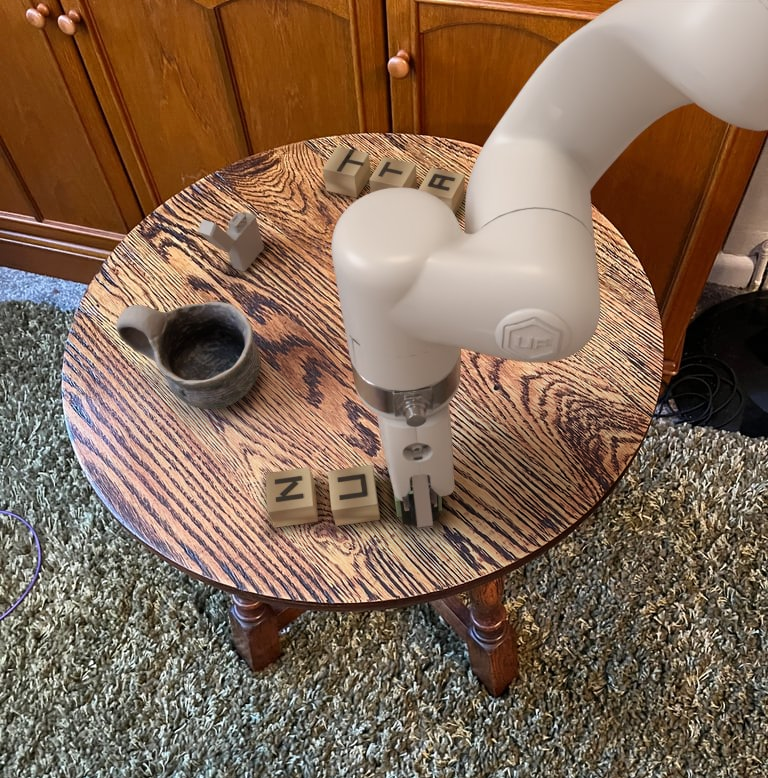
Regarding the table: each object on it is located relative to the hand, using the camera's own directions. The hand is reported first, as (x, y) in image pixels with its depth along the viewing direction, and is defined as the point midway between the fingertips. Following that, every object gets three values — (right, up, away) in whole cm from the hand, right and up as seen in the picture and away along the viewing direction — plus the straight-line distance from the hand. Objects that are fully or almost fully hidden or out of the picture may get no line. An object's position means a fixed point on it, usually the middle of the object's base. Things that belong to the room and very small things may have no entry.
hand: (416, 493), depth 69 cm
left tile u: (-5, -1, 0) cm, 6 cm away
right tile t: (-2, +35, +19) cm, 40 cm away
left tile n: (-11, -1, +1) cm, 11 cm away
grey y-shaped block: (-19, +25, +16) cm, 35 cm away
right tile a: (+4, +33, +18) cm, 37 cm away
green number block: (0, 0, 0) cm, 0 cm away
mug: (-21, +11, +8) cm, 25 cm away
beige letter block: (-7, +37, +21) cm, 43 cm away
